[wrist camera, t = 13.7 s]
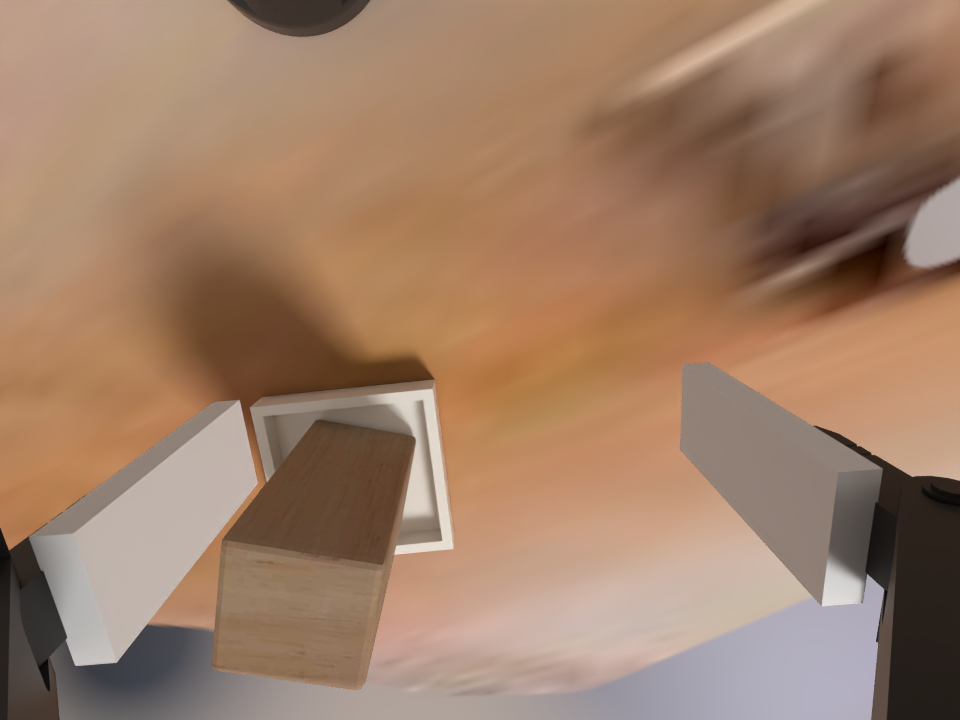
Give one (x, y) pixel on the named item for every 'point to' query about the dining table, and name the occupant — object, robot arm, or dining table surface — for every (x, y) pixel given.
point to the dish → (379, 409)
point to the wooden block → (314, 559)
